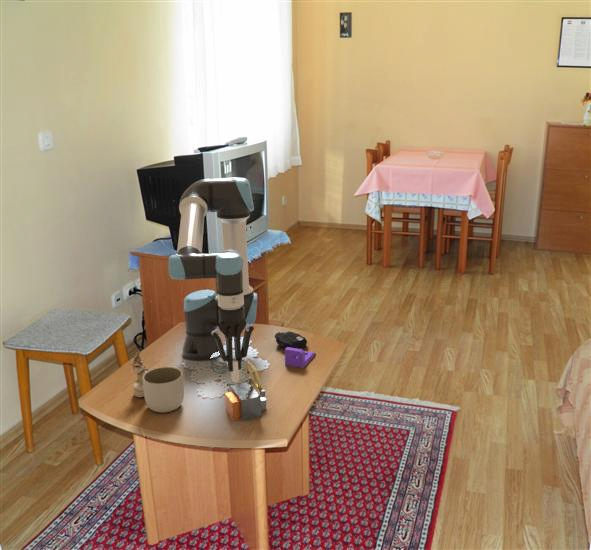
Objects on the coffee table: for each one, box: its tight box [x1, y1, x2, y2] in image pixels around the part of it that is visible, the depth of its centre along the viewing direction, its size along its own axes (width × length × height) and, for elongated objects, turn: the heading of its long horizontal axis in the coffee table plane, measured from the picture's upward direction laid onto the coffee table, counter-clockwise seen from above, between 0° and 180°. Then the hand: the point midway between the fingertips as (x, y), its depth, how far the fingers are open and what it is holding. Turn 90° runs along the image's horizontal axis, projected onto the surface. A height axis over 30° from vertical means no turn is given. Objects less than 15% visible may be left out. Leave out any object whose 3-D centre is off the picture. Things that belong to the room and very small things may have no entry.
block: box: [230, 376, 266, 422], centre depth 202 cm, size 11×8×8 cm
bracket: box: [284, 347, 316, 369], centre depth 236 cm, size 12×7×7 cm, turn 157°
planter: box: [142, 366, 185, 414], centre depth 205 cm, size 12×12×11 cm
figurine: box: [130, 352, 149, 398], centre depth 213 cm, size 7×7×15 cm
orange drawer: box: [224, 391, 267, 421], centre depth 202 cm, size 11×7×6 cm, turn 114°
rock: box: [274, 331, 308, 350], centre depth 247 cm, size 10×9×6 cm
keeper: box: [246, 360, 263, 393], centre depth 200 cm, size 8×1×8 cm, turn 24°
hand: (235, 379), depth 198 cm, fingers closed
